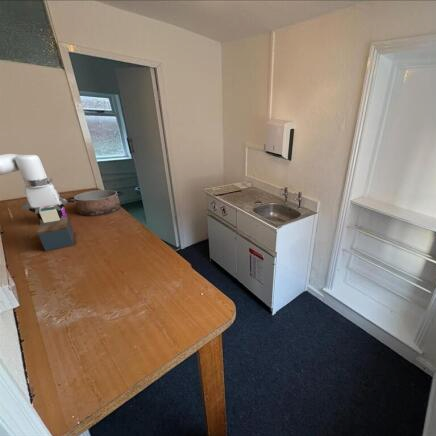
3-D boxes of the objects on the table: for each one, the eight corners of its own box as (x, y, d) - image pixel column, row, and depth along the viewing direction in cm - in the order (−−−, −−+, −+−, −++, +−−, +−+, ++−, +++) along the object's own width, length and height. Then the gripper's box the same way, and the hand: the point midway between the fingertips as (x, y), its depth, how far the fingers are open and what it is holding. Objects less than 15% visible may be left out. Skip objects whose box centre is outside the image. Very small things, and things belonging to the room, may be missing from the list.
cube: (43, 223, 110) (39, 212, 107) (45, 219, 114) (40, 208, 111) (59, 220, 113) (55, 209, 111) (60, 216, 117) (56, 206, 115)
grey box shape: (45, 251, 110) (37, 232, 106) (48, 237, 121) (41, 220, 117) (73, 245, 116) (66, 227, 112) (74, 233, 127) (68, 216, 123)
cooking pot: (71, 220, 141) (65, 203, 137) (71, 209, 156) (66, 194, 152) (129, 210, 159) (125, 195, 154) (125, 201, 174) (121, 187, 170)
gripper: (63, 178, 114) (75, 212, 121) (11, 183, 103) (27, 220, 111) (62, 182, 108) (75, 217, 116) (7, 187, 98) (25, 225, 105)
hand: (51, 218), depth 113 cm, fingers closed on cube, 5 cm apart
